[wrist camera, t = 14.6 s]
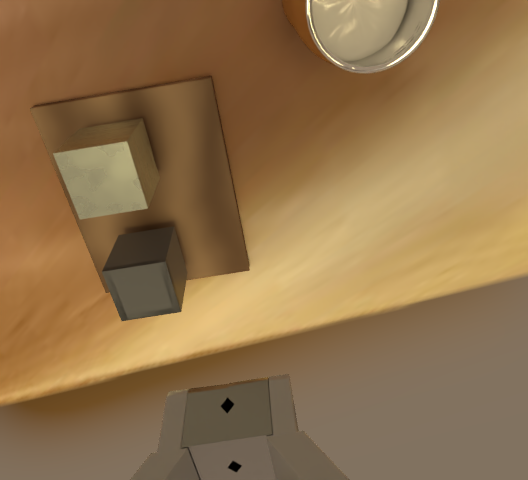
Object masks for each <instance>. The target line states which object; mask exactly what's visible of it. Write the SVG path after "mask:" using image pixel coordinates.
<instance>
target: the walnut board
mask: <svg viewBox="0 0 528 480" xmlns="http://www.w3.org/2000/svg"><path fill="white" fill-rule="evenodd" d="M30 110H31V113H32V115H33V118H34V120H35V123H36V125H37V127H38V130H39V132H40V135H41V137H42V139H43V142H44V144H45V147H46V149H47V151H48V154H49V156H50V159H51V161H52V164H53V166H54V168H55V171H56V173H57V176H58V178H59V180H60V183H61V185H62V188H63V190H64V193H65V195H66V197H67V200H68V202H69V205H70V207H71V209H72V212H73V214H74V217H75V219H76V221H77V224H78V226H79V229H80V231H81V234H82V236H83V238H84V241H85V243H86V246H87V248H88V250H89V253H90V255H91V258H92V260H93V263H94V265H95V267H96V270H97V272H98V275H99V277H100V279H101V282H102V284H103V287H104V289H105V292H106V293H109V292H110V291H109V289H108V286H107V284H106V281H105V279H104V276H103V274H102V270H103V268H104V266H105V264H106V261H107V259H108V257H109V255H110V253H111V251H112V248H113V246H114V244H115V242H116V240H117V238H118V235H123V234H129V233H135V232H141V231H148V230H154V229H160V228H166V227H173V226H174V227H175V231H176V234H177V238H178V241H179V245H180V248H181V252H182V255H183V259H184V262H185V266H186V269H187V279H186V280H191V279H198V278H204V277H210V276H217V275H223V274H230V273H236V272H242V271H249V270H250V269H249V261H248V256H247V251H246V246H245V241H244V236H243V231H242V226H241V221H240V216H239V211H238V206H237V201H236V196H235V191H234V186H233V181H232V176H231V171H230V166H229V161H228V156H227V151H226V146H225V141H224V136H223V131H222V126H221V121H220V116H219V111H218V106H217V101H216V96H215V91H214V86H213V81H212V76H207V77H201V78H195V79H189V80H184V81H178V82H172V83H166V84H160V85H154V86H148V87H142V88H136V89H130V90H124V91H118V92H112V93H106V94H101V95H95V96H89V97H83V98H77V99H71V100H65V101H59V102H53V103H47V104H41V105H35V106H33V107H31V108H30ZM141 118H143V122H144V125H145V128H146V132H147V135H148V139H149V142H150V146H151V149H152V153H153V156H154V160H155V163H156V167H157V170H158V173H159V177H160V179H159V181H158V184H157V187H156V189H155V192H154V194H153V197H152V200H151V202H150V205H149V207H148V209H142V210H136V211H130V212H124V213H117V214H111V215H105V216H99V217H93V218H87V219H79V216H78V214H77V211H76V209H75V206H74V204H73V202H72V199H71V197H70V194H69V192H68V189H67V187H66V184H65V182H64V180H63V177H62V175H61V172H60V170H59V167H58V165H57V162H56V160H55V158H54V155H53V153H54V152H55V151H56V150H57V149H58V148H59V147H60V146H61V145H62V144H64V143H65V142H66V141H67V140H68V139H69V138H70V137H71V136H72V135H73V134H74V133H75V132H76V131H77V130H78V129H81V128H87V127H93V126H99V125H105V124H111V123H117V122H123V121H129V120H135V119H141Z"/></svg>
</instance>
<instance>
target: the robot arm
mask: <svg viewBox="0 0 528 480" xmlns="http://www.w3.org/2000/svg"><path fill="white" fill-rule="evenodd" d="M130 480H349V479H348V478H347V476H346V475H345V474H344V473H343V472H342V471H341V470H340V469H339V468H338V467H337V466H336V465H335V464H334V463H333V462H332V461H331V460H330V458H328V457H327V455H326V454H325V453H324V452H323V451H322V450H321V449H320V448H319V447H318V446H317V445H316V444H315V443H314V442H313V440H312V439H311V438H309V436H308V435H307V434H306V433H305V432H304V431H299V430H298V424H297V418H296V412H295V406H294V400H293V395H292V388H291V382H290V377H289V374H285V375H279V376H272V377H269V378H268V377H265V378H259V379H252V380H246V381H240V382H234V383H229V384H224V385H217V386H216V385H215V386H207V387H200V388H191V389H186V390H178V391H171V392H169V393H168V395H167V397H166V402H165V408H164V414H163V420H162V426H161V433H160V438H159V444H158V451H157V452H156V453H151V454H150V455H149V457H148V458H147V459H146V460H145V462H144V463H143V464H142V465H141V467H140V468H139V469H138V470H137V472H136V473H135V474H134V476H133V477H132V478H131V479H130Z"/></svg>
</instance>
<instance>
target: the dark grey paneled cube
mask: <svg viewBox="0 0 528 480" xmlns="http://www.w3.org/2000/svg"><path fill="white" fill-rule="evenodd" d="M102 274H103V276H104V279H105V281H106V284H107V286H108V289H109V291H110V293H111V296H112V298H113V301H114V303H115V306H116V308H117V311H118V313H119V316H120V318H121V320H122V321H126V320H132V319H139V318H145V317H151V316H158V315H164V314H171V313H177V312H181V309H182V303H183V297H184V291H185V285H186V279H187V269H186V266H185V262H184V259H183V255H182V252H181V248H180V245H179V241H178V238H177V234H176V231H175V227H174V226H173V227H166V228H160V229H154V230H148V231H141V232H135V233H129V234H123V235H118V238H117V240H116V242H115V244H114V246H113V248H112V251H111V253H110V255H109V257H108V259H107V261H106V264H105V266H104V268H103V270H102Z"/></svg>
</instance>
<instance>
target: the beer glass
mask: <svg viewBox="0 0 528 480" xmlns="http://www.w3.org/2000/svg"><path fill="white" fill-rule="evenodd" d="M439 3H440V0H282V5H283V9H284V12H285V15H286V17H287V19H288V21H289V22H290V24H291V25H292V26H293V27H294V28H295V29H296V31H297V33H298V35H299V37H300V38H301V40H302V41H303V42H304V44H305V45H306V46H307V47H308V48H309V49H310V50H311V51H312V52H313V53H314V54H315V55H317V56H318V57H320V58H321V59H323V60H324V61H326V62H328V63H330V64H332V65H335V66H337V67H339V68H341V69H344V70H346V71H350V72H354V73H362V74H367V73H376V72H380V71H384V70H387V69H389V68H391V67H393V66H395V65H397V64H399V63H401V62H402V61H403V60H405V59H406V58H408V57H409V56H410V55H411V54H412V53H413V52H414V51H415V50H416V49H417V48H418V47H419V46H420V44H421V43H422V42H423V40H424V39H425V38H426V36H427V34H428V33H429V31H430V29H431V27H432V25H433V23H434V20H435V18H436V15H437V12H438V8H439Z"/></svg>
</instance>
